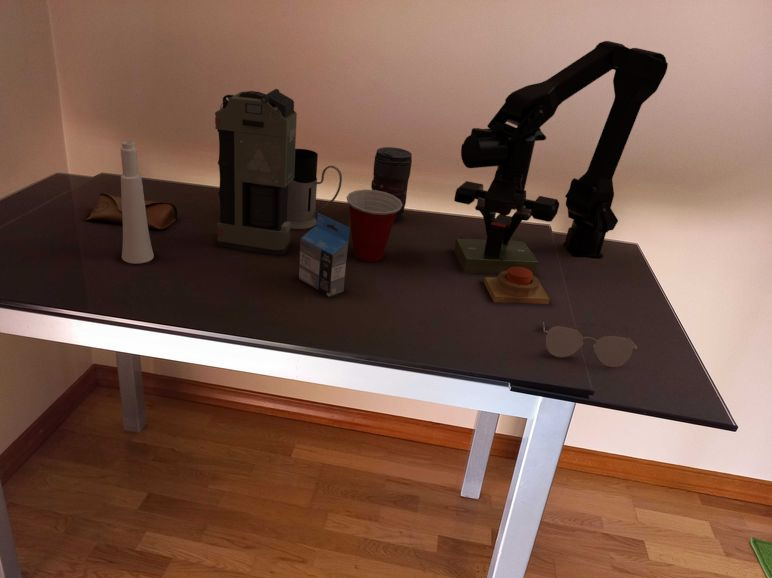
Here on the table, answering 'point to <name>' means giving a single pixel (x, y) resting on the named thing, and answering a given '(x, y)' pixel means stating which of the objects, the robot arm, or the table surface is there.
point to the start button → (519, 275)
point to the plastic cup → (371, 222)
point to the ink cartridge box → (324, 256)
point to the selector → (497, 235)
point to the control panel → (493, 257)
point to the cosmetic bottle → (133, 209)
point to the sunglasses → (606, 348)
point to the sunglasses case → (111, 212)
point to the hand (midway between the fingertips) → (497, 242)
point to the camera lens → (392, 173)
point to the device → (255, 170)
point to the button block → (515, 290)
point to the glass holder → (305, 190)
